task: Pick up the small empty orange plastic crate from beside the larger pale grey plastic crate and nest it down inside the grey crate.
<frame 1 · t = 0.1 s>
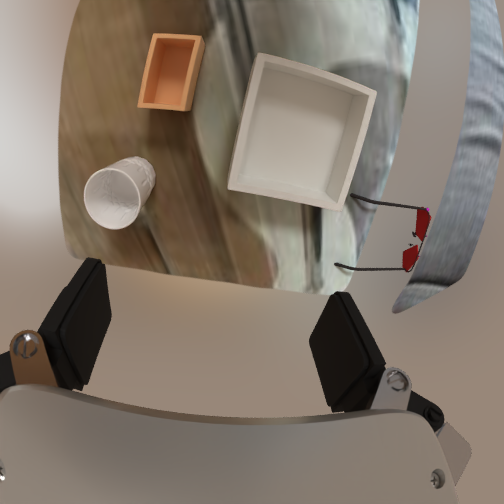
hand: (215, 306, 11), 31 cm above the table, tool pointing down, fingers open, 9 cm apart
grey crate: (294, 130, 36), on the table
glasses: (379, 231, 47), on the table
white cup: (135, 177, 38), on the table
orange crate: (176, 75, 30), on the table
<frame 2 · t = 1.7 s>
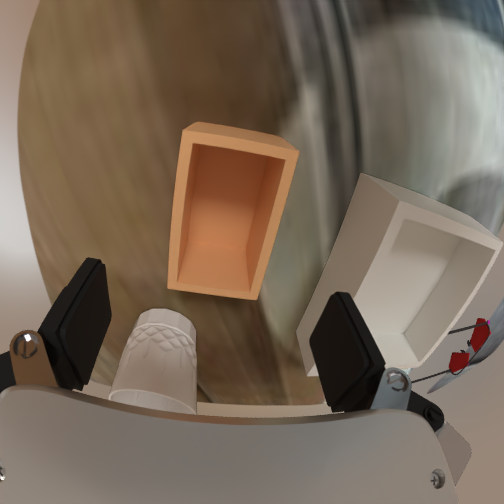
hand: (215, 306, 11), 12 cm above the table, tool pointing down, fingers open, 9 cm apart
grey crate: (391, 274, 26), on the table
glasses: (438, 344, 36), on the table
white cup: (166, 328, 28), on the table
orange crate: (225, 191, 20), on the table
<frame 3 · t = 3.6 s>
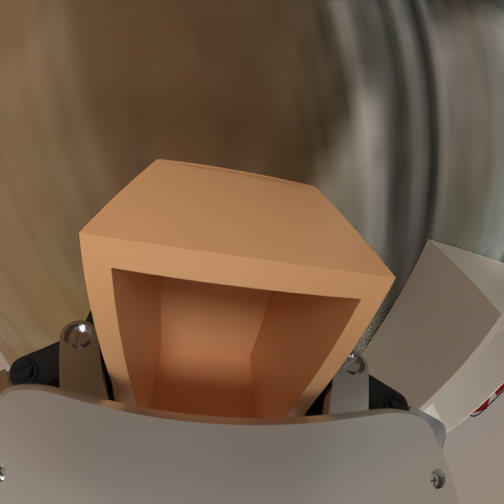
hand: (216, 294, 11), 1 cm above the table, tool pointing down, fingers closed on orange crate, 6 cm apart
grey crate: (432, 350, 18), on the table
orange crate: (216, 281, 12), on the table, touching gripper
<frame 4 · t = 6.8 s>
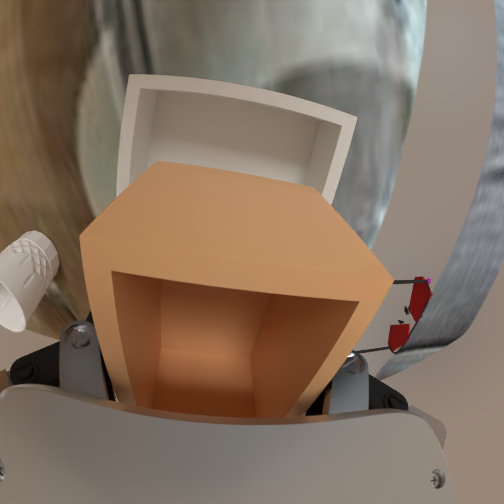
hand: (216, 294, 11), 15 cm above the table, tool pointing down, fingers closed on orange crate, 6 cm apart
grey crate: (222, 186, 25), on the table
glasses: (359, 308, 35), on the table
white cup: (40, 252, 26), on the table
orange crate: (216, 282, 12), point 15 cm above the table, touching gripper
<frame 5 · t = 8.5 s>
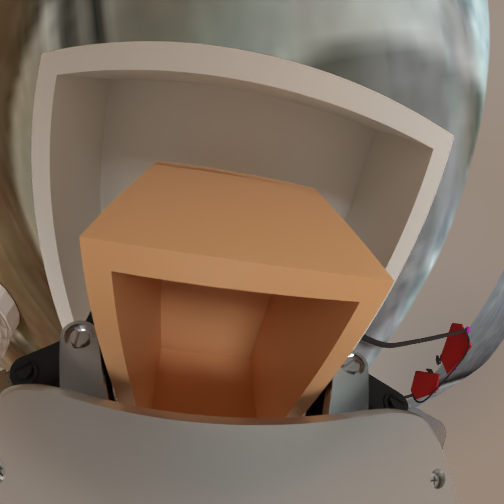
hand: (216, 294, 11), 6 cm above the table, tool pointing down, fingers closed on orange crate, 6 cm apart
grey crate: (218, 229, 16), on the table
glasses: (387, 360, 27), on the table
orange crate: (216, 282, 12), point 5 cm above the table, touching gripper
when the fingers open (4 cm above the table, at t = 9.9 s): orange crate drops 2 cm, resting on grey crate.
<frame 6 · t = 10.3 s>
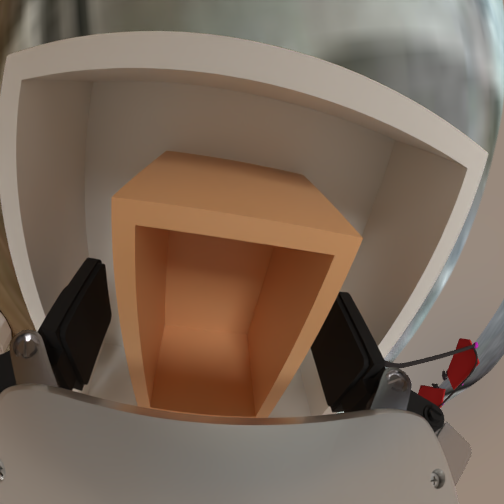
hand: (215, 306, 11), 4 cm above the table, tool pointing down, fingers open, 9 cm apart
grey crate: (217, 251, 14), on the table
glasses: (393, 377, 25), on the table
orange crate: (216, 260, 13), point 1 cm above the table, touching grey crate
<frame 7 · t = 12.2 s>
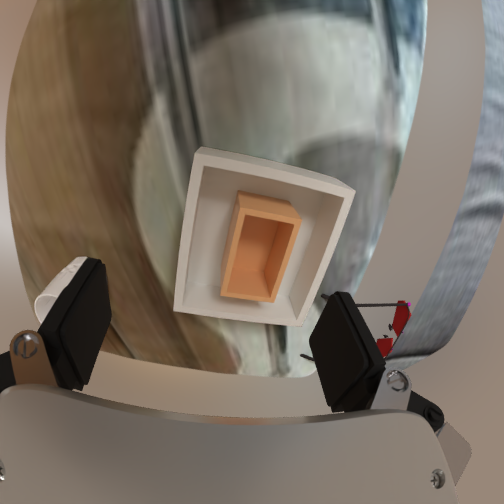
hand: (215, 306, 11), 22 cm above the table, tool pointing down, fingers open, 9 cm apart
grey crate: (252, 232, 33), on the table
glasses: (352, 324, 44), on the table
white cup: (88, 275, 34), on the table
orange crate: (253, 235, 32), point 1 cm above the table, touching grey crate
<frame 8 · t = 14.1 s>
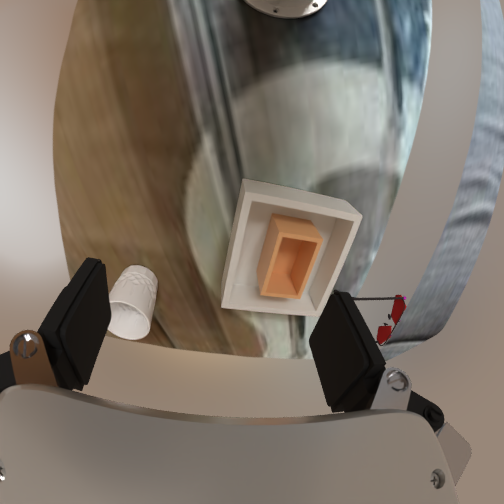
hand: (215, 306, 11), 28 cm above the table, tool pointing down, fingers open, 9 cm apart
grey crate: (281, 243, 42), on the table
glasses: (358, 314, 53), on the table
white cup: (140, 280, 44), on the table
orange crate: (282, 246, 41), point 1 cm above the table, touching grey crate
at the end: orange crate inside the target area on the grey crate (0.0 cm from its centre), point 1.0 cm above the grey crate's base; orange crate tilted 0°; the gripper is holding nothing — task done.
